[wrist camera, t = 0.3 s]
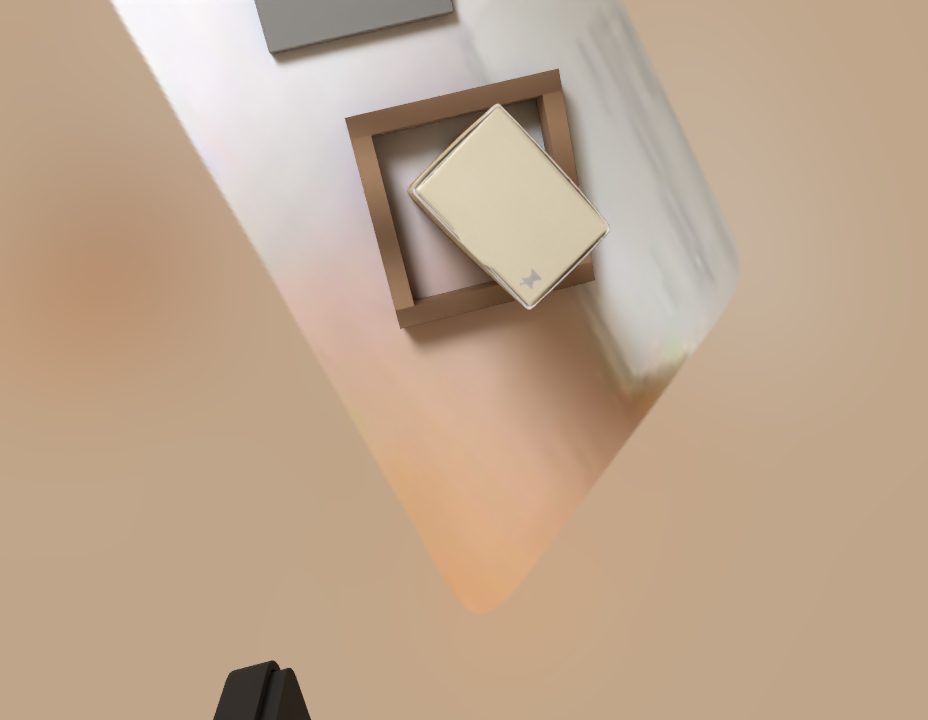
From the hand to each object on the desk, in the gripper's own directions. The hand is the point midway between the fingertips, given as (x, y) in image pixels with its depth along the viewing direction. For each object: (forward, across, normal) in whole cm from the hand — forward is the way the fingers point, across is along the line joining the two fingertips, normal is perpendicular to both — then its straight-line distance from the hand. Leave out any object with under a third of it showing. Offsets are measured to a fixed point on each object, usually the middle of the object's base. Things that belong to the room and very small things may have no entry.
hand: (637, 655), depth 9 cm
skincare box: (+28, -2, -5) cm, 29 cm away
